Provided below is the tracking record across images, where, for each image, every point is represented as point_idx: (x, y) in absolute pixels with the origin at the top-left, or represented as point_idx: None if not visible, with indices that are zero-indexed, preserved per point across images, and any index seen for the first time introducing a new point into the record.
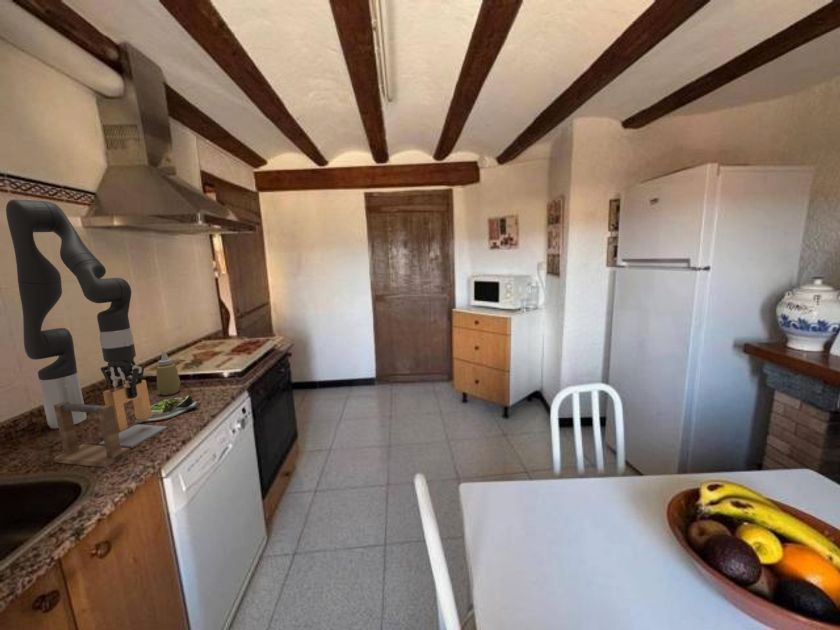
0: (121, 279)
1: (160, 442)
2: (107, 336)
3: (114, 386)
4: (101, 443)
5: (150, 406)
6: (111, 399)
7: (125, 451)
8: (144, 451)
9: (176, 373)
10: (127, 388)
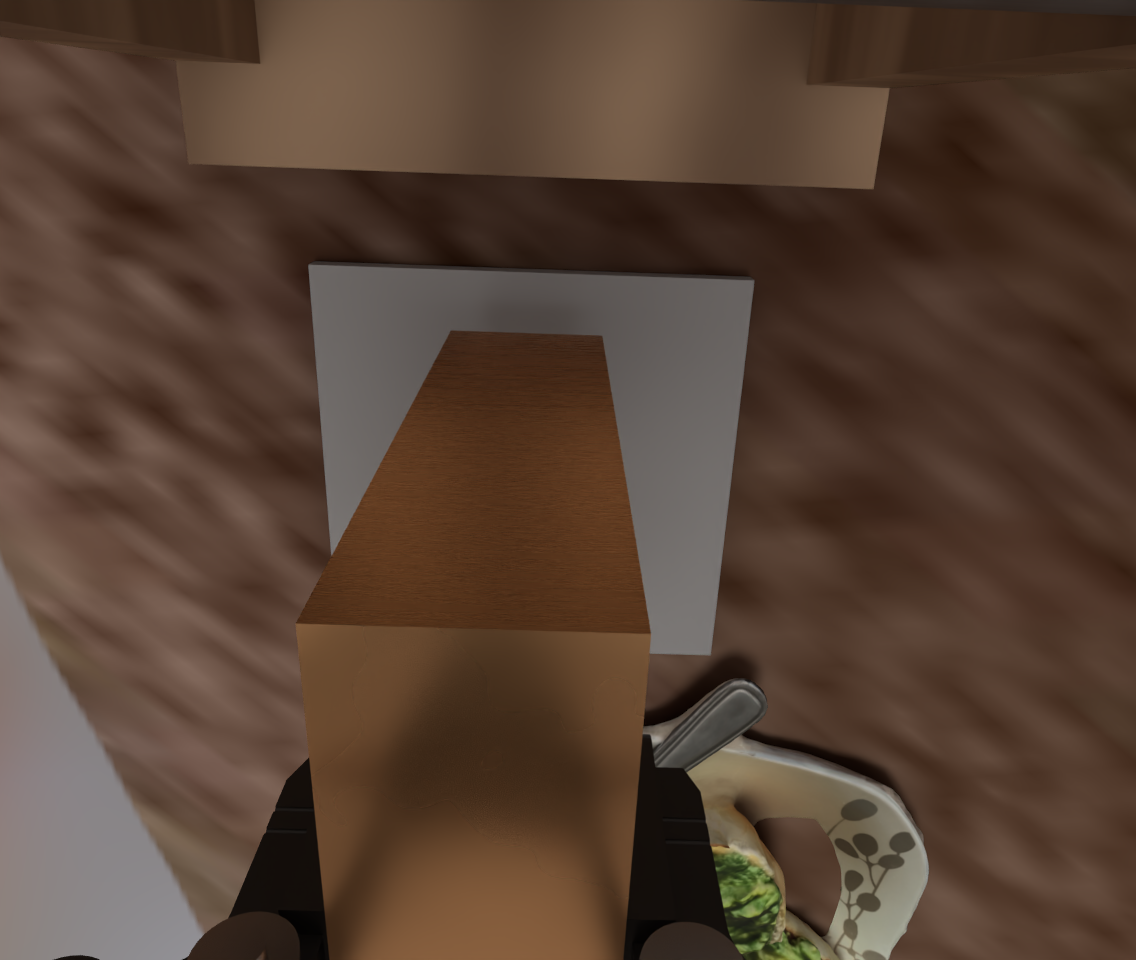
0: None
1: (120, 388)
2: None
3: (698, 937)
4: (720, 279)
5: (890, 942)
6: (422, 526)
7: (184, 106)
8: (97, 209)
9: None
10: (315, 899)
